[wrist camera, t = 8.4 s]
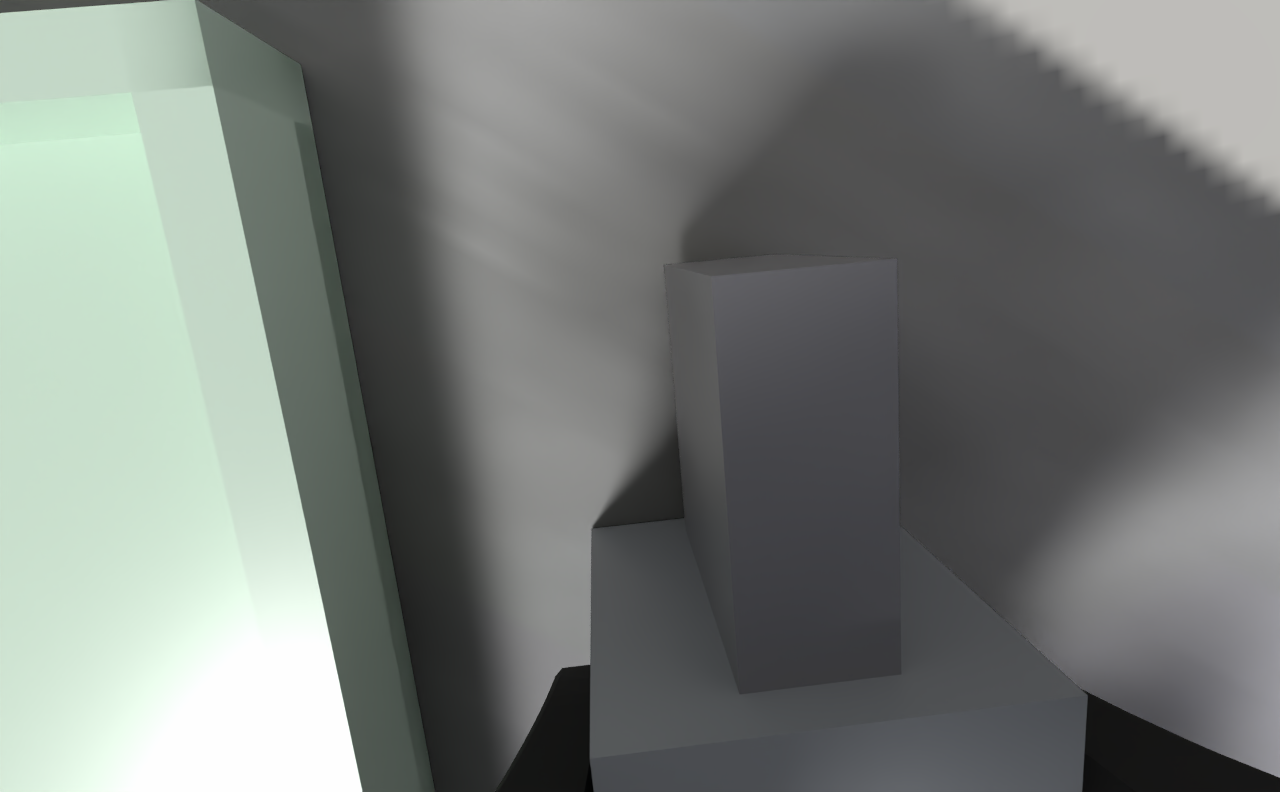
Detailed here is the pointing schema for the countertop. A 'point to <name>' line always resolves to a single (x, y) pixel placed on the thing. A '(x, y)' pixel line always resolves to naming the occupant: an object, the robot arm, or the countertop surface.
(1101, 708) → the robot arm
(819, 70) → the countertop surface
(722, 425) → the grey bottle-shaped block
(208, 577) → the tray
